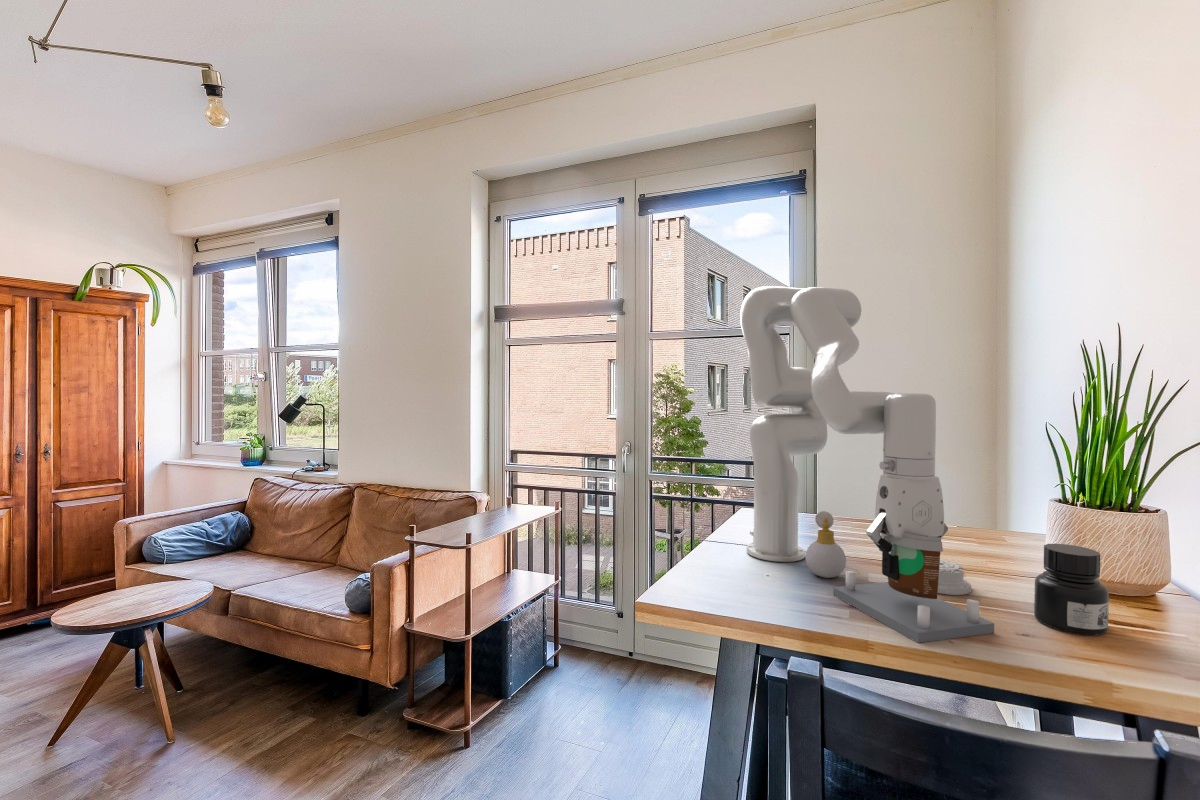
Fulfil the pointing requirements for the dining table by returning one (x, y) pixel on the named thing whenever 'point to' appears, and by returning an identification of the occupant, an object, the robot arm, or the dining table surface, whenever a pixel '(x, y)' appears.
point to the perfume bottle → (825, 550)
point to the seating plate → (914, 612)
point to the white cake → (952, 579)
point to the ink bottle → (1071, 591)
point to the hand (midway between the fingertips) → (907, 574)
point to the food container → (917, 565)
